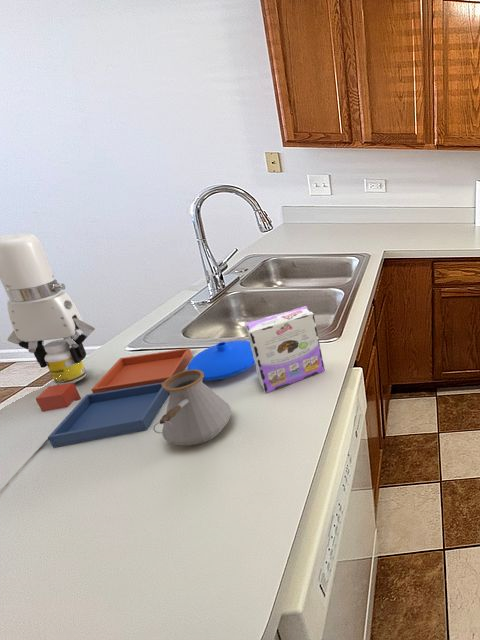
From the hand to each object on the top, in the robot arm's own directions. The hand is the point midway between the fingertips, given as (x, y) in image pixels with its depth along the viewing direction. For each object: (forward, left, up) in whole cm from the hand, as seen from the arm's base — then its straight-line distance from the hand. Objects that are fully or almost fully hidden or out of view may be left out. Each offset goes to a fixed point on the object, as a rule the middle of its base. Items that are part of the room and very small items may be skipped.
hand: (64, 361), depth 92 cm
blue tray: (+16, -17, -6) cm, 24 cm away
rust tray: (+16, -2, -6) cm, 17 cm away
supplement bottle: (0, 0, -5) cm, 5 cm away
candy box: (+50, -14, -6) cm, 52 cm away
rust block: (+3, -10, -6) cm, 12 cm away
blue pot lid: (+34, -5, -6) cm, 35 cm away
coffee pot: (+35, -33, -6) cm, 48 cm away
